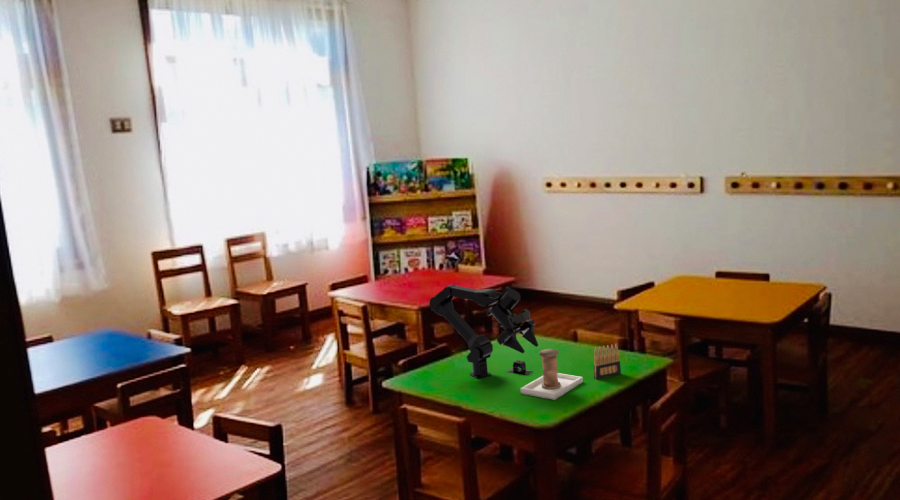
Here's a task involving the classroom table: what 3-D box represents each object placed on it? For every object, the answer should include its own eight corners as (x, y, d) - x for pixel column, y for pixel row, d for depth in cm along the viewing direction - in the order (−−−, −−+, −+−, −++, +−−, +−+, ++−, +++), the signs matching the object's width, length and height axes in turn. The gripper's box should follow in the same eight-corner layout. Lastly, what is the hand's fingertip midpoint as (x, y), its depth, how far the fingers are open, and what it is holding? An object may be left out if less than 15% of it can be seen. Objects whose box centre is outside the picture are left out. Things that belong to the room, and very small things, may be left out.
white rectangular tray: (554, 400, 249) (554, 394, 248) (520, 393, 258) (520, 388, 257) (582, 382, 264) (582, 377, 263) (550, 376, 273) (549, 371, 272)
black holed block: (538, 372, 280) (537, 361, 280) (527, 378, 275) (527, 366, 274) (511, 368, 288) (511, 357, 288) (501, 373, 283) (500, 362, 282)
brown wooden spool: (538, 388, 259) (536, 353, 257) (546, 382, 265) (543, 348, 263) (556, 390, 256) (554, 355, 254) (563, 384, 262) (561, 349, 260)
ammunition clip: (596, 379, 266) (594, 348, 264) (593, 378, 267) (592, 347, 265) (621, 374, 269) (619, 343, 267) (618, 372, 271) (616, 342, 269)
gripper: (501, 309, 257) (529, 342, 252) (529, 298, 272) (556, 329, 266) (485, 328, 264) (512, 361, 258) (513, 316, 278) (539, 347, 272)
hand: (530, 349), depth 264 cm, fingers open, 9 cm apart
